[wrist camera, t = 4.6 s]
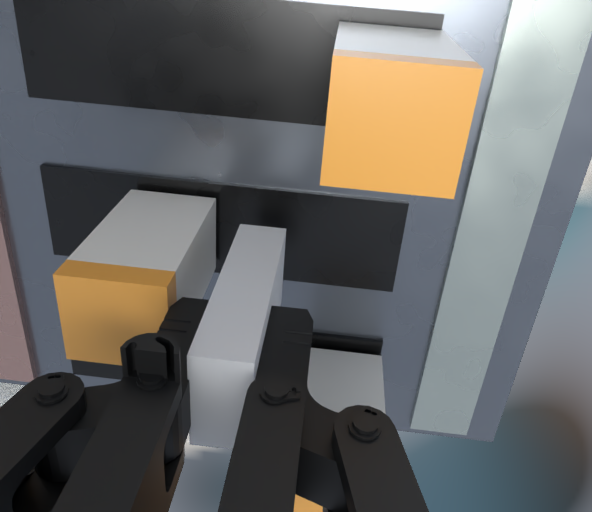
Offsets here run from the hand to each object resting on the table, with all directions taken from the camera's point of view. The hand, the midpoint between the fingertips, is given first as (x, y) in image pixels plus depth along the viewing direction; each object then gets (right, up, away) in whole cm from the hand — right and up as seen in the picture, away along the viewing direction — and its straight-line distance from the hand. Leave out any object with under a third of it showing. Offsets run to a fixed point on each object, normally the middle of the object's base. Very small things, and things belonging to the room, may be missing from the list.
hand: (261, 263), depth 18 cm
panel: (-1, +2, +4) cm, 5 cm away
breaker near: (+4, +6, -1) cm, 7 cm away
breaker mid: (-3, +1, +2) cm, 4 cm away
